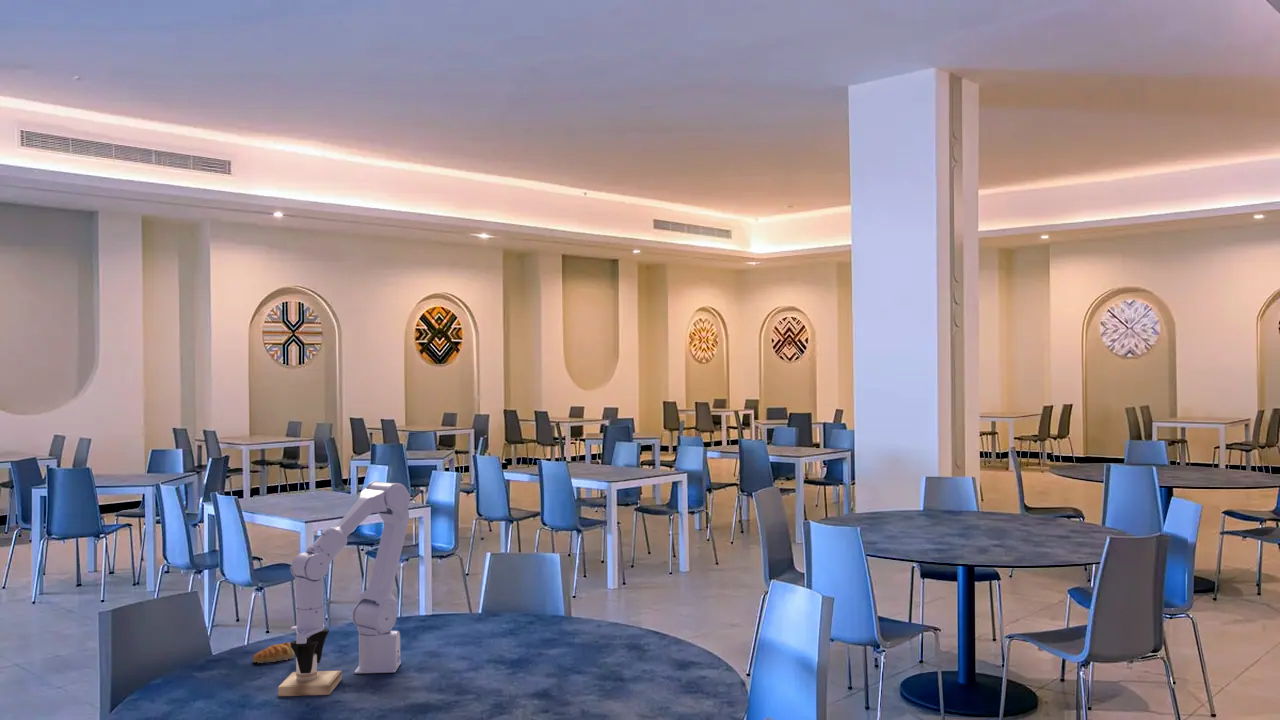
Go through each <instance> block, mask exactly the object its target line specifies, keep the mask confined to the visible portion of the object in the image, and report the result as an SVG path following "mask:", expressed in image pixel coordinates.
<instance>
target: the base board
mask: <svg viewBox="0 0 1280 720" xmlns="http://www.w3.org/2000/svg"><path fill="white" fill-rule="evenodd" d="M342 672H343V671H342V670H321V671H320V670H317V678H316V679H314V680H311V681H297V680H296V671H292V672H291V673H290V674H289V676H287V677H286V678H285V679H284V680H283V681H282V682H281V684H280V685H279V686H277V697H293V696H296V697H297V696H327V695H328V696H329V695H331V693H332V692H333V691H334V689H335V688H336V687H337V686H338V684H339V683H340V682H341V681H342V677H343V676H342Z"/></svg>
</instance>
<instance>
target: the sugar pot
mask: <svg viewBox="0 0 1280 720" xmlns="http://www.w3.org/2000/svg"><path fill="white" fill-rule="evenodd" d="M295 661H296V662H295V665H296V666H295V672H296V680H297V681H311V680H314V679H316V678H317V671H318V663H317V654H314V656H313V664H312V670H311V672H310V673H300V669H299V665H298V661H297V658H296V657H295Z"/></svg>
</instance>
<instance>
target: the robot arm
mask: <svg viewBox="0 0 1280 720" xmlns="http://www.w3.org/2000/svg"><path fill="white" fill-rule="evenodd" d="M410 501H411V494H410V492H409V490H408V488H406V486H405V485H404V484H402V483H400V482H394V483H393V482H385V481H384V482H381V481H378V480H376V481H375V480H374V481H371V482H369V483H368V484H367V485H366V486H365V488H363V489H362V490H361V491H360V493H359V498H358V499H357V500H356V502H354V504H353V505H352V506H351V507H350V509H349V510H348V511H347V512H346V514H345V515H344V516H343V517H342V519H340V521H339V522H338V523H337V524H336V526H333V527H332V526H331V527H328V528H325V529H323V530H321V531H320V536H318V538H317V539H316V540H315V541H314V542H313V543H312V544H311V545H309V546H308V547H307V548H306V551H304V552H300V553H299V554H297V555H296V556H295V557H294V559H293V561H292V564H291V565H290V567H289V569H290V573H291V575H292V576H293V577H294V584H295V601H296V603H295V607H296V611H295V613H296V615H295V616H296V617H295V618H296V619H295V620H296V625H292V627H290V631H291V632H295V633H296V635H295V637H296V639H295V640H292V641H290V642H289V643H290V644H291V648H292V649H293V651H294V655H295V659H296V658H297V661H298V665H299V669H300V673H310V672H311V670H312V664H313V656H314V654H317V664H320V663H321V661H322V654H323V649H324V645H325V642H326V638H327V637H328V634H329V632H330V630H329V629H330V628H325V624H324V584H323V583H324V577H325V576H327V574H328V572H329V569H330V568H329V567H330V564H331V563H332V561H333V560H334V559H335V558H336V556H338V554H340V552H341V551H343V549H344V548H345V546H347V544H348V536H349V535H350V534H351V533H352V532H353V531H354V530H355V529H357V527H358V526H359V525H360V524H362V523H363V521H365V520H366V519H367V518H368V517H369V516H370V515H371V514H375V513H377V514H378V515H379V516H380V518H381V520H382V521H383V523H384V524H383V528H382V531H381V536H380V541H379V544H378V549H377V553H376V555H375V559H374V560H375V561H374V565H373V568H372V572H371V576H370V580H369V585H368V587H367V589H365V590H364V591H363V592H362V593H360V594H359V598H358V601H357V603H356V604H355V606H354V607H353V609H352V613H351V618H352V619H351V620H352V622H353V624H354V625H356V629H357V631H358V666H357V668H355V670H354V674H386V673H387V674H388V673H389V674H390V673H396V671H397V670H398V668H399V666H400V665H401V664H402V661H401V633H400V631H399V630H392V629H393V627H394V626H395V625H396V622H397V621H396V620H397V604H398V601H397V599H396V597H395V595H394V594H393V592H392V591H393V587H394V584H395V579H396V575H397V571H398V567H399V562H400V559H401V554H402V550H403V547H404V543H405V539H406V534H407V530H408V528H409V527H408V526H409V523H410V513H409V505H410Z"/></svg>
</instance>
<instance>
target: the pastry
mask: <svg viewBox="0 0 1280 720" xmlns="http://www.w3.org/2000/svg"><path fill="white" fill-rule="evenodd" d="M290 643H291V642H289V641H288V642H283V643H278V644H273V645H270V646H269V647H268V646H267V647H266V648H265V649H262V650H260V651H258V652H257V653H255V654H253V656H252V662H253V663H256V662H257V663H256V664H259V663H264V662H276V661H281V660H286V661H289V660H288V659H290V660H293V659H294V658H295V657H296V655H295V653H294V651H293V649H292V648H291V644H290ZM292 658H293V659H292ZM281 662H282V661H281ZM276 663H277V662H276Z"/></svg>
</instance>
